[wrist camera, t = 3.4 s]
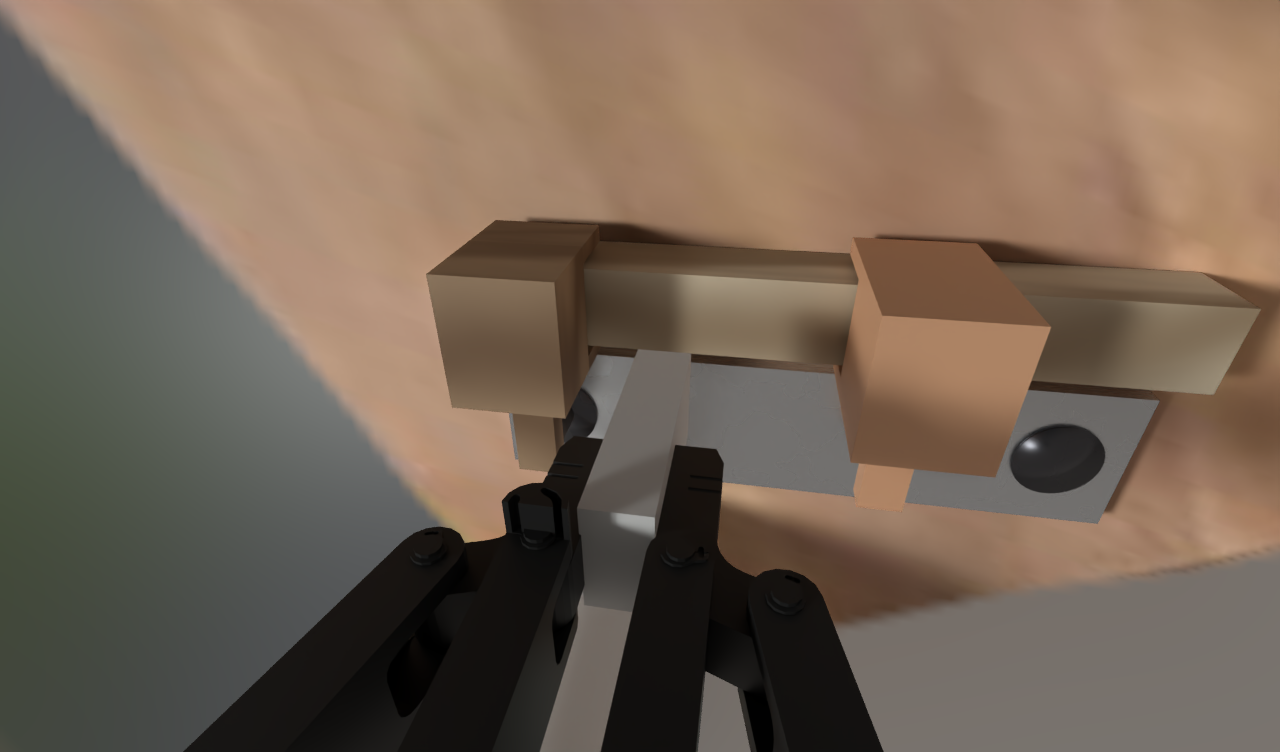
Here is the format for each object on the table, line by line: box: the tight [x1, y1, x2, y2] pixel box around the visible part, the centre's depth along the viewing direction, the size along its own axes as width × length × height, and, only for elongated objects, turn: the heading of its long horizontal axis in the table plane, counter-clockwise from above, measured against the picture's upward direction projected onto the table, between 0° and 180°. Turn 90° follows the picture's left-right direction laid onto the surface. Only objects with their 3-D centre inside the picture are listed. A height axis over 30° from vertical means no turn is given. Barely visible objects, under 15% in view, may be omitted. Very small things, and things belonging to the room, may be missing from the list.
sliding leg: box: [833, 237, 1051, 512], centre depth 21 cm, size 9×4×6 cm, turn 0°
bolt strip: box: [509, 346, 1160, 524], centre depth 26 cm, size 6×25×1 cm, turn 90°
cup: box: [540, 592, 632, 752], centre depth 25 cm, size 8×8×16 cm
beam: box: [583, 241, 1261, 395], centre depth 22 cm, size 3×25×3 cm, turn 90°
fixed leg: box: [426, 220, 601, 472], centre depth 23 cm, size 9×4×6 cm, turn 0°
